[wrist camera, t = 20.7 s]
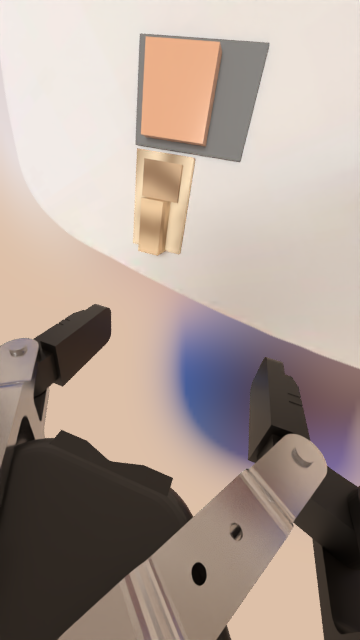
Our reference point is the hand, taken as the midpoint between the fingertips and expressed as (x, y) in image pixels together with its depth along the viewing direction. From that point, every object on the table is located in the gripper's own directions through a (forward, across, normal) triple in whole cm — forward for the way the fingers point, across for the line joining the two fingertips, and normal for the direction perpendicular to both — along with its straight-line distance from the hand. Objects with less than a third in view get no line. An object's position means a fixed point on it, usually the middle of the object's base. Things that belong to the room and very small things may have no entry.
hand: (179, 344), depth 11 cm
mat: (+30, +10, -16) cm, 36 cm away
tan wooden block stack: (+29, +13, -2) cm, 32 cm away
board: (+30, +13, -3) cm, 33 cm away
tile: (+29, +7, -16) cm, 34 cm away
